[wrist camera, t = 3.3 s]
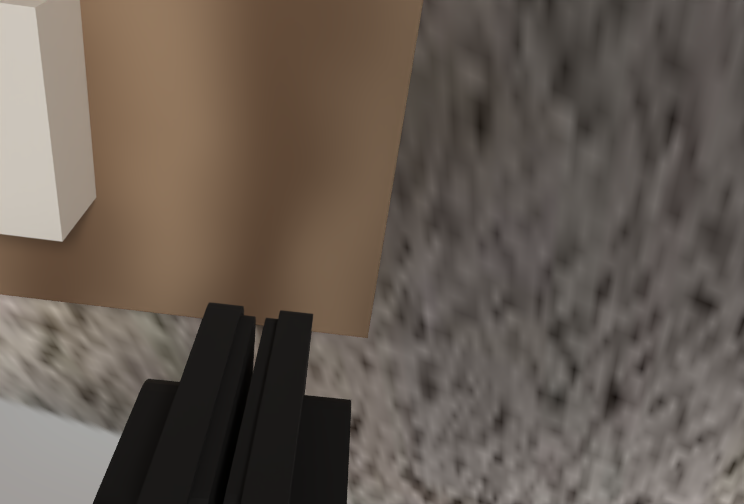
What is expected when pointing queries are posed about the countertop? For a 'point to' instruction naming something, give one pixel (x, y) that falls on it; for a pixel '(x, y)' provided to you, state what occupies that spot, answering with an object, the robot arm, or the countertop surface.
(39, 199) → the tile
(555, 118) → the countertop surface
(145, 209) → the board
